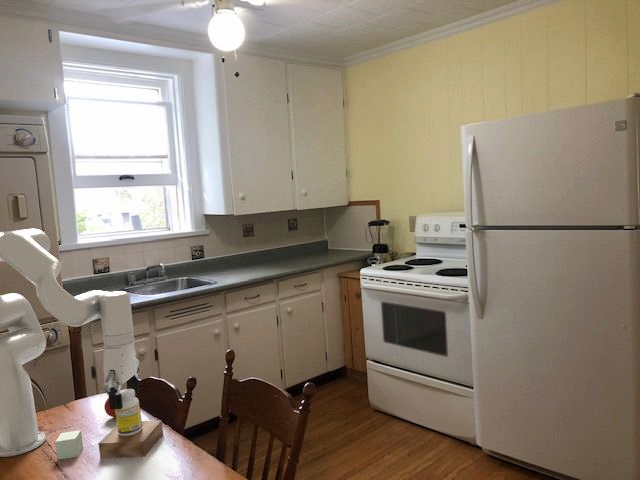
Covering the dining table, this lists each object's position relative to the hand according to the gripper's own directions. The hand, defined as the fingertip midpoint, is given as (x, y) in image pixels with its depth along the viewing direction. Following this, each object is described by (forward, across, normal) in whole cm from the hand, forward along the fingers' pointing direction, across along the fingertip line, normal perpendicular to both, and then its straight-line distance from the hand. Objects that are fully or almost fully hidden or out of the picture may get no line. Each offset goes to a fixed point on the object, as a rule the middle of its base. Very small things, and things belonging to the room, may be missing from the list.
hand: (125, 400), depth 138 cm
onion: (+13, -18, -13) cm, 26 cm away
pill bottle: (+9, 0, +1) cm, 9 cm away
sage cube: (+13, +3, -15) cm, 20 cm away
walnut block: (+12, 0, +1) cm, 13 cm away
